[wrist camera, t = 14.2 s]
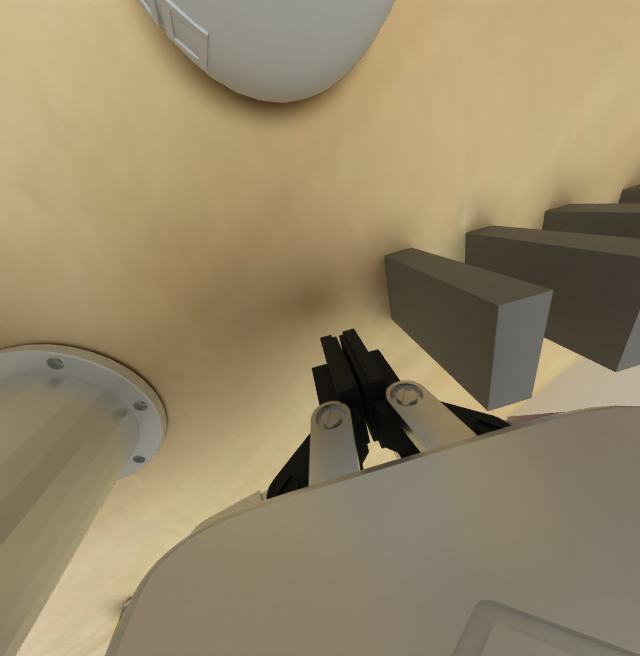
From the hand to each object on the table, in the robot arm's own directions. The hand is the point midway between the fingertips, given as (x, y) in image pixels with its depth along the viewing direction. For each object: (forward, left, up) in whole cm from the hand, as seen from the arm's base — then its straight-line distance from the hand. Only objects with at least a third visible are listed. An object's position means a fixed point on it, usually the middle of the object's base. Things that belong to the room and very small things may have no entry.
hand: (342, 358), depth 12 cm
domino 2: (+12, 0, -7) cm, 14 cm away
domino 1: (+6, 0, -7) cm, 9 cm away
